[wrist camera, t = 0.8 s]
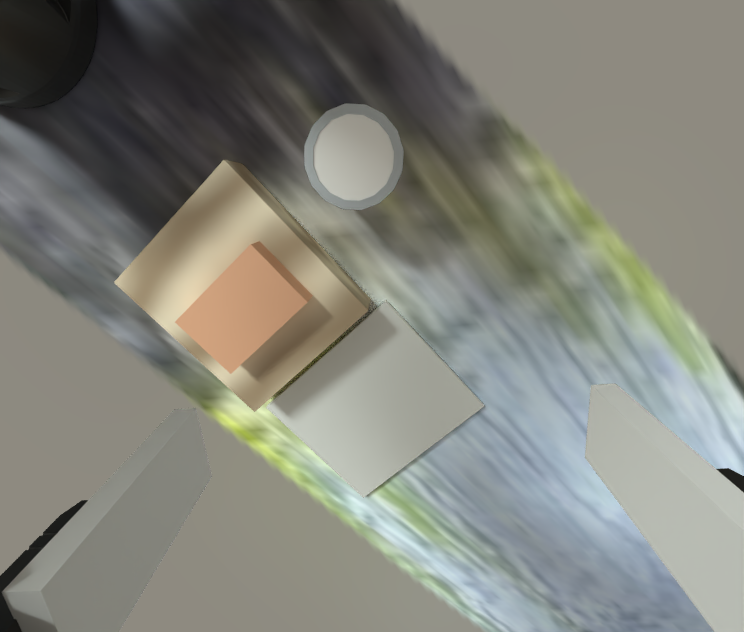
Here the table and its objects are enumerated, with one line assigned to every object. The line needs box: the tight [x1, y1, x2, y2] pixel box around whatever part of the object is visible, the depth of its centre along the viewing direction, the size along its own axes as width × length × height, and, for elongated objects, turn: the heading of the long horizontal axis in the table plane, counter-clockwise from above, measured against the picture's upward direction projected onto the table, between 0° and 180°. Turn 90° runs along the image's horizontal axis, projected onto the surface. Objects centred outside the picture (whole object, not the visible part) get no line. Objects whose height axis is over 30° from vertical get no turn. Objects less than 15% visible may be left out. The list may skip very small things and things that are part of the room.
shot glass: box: [304, 103, 404, 210], centre depth 31 cm, size 7×7×7 cm
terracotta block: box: [175, 241, 313, 374], centre depth 33 cm, size 6×9×2 cm, turn 133°
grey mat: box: [266, 300, 484, 498], centre depth 40 cm, size 14×16×1 cm
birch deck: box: [114, 160, 371, 412], centre depth 36 cm, size 16×14×4 cm
